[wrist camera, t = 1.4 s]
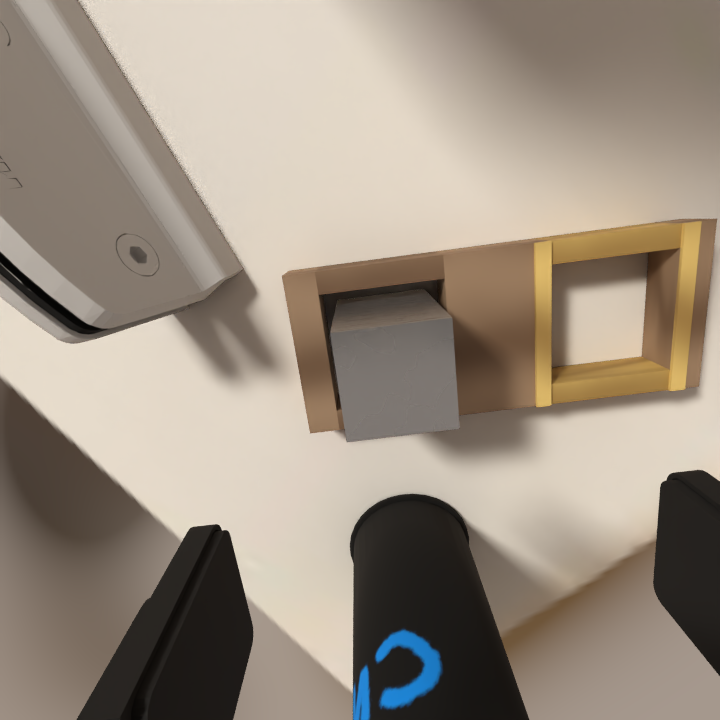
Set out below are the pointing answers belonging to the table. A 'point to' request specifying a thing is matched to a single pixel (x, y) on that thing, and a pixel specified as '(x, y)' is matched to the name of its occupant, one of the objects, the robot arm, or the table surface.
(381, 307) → the grey rectangular block
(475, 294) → the wooden slotted tray
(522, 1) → the table surface
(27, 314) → the gray curved box
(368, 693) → the aerosol can
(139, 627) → the robot arm
